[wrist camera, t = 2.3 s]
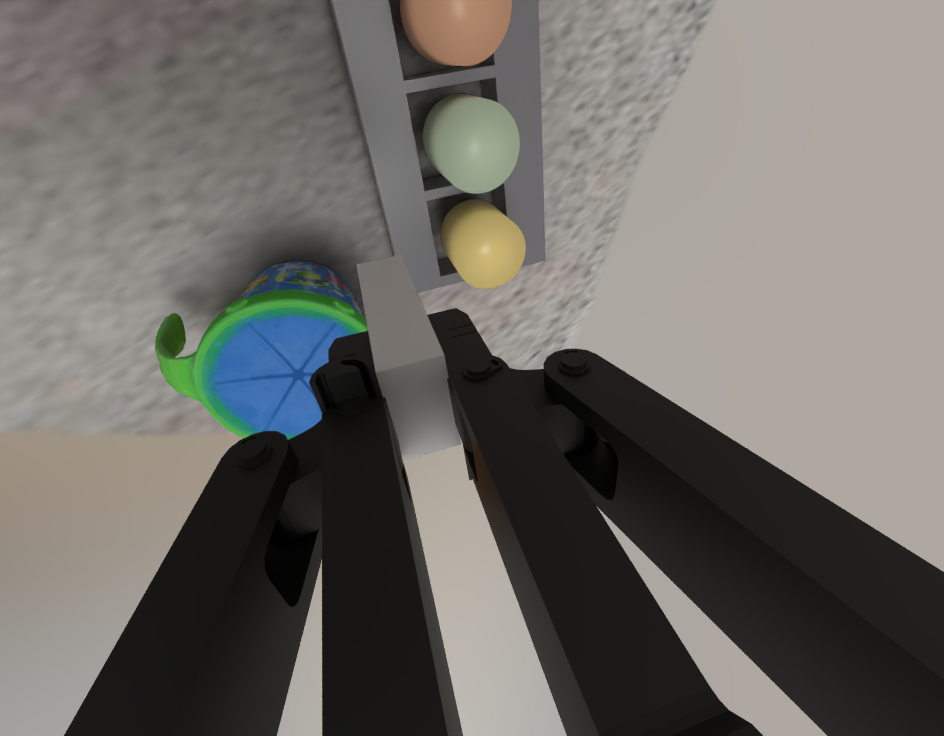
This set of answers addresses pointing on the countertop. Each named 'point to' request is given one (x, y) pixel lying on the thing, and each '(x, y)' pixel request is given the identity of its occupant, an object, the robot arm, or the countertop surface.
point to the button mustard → (482, 243)
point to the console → (392, 139)
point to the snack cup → (264, 350)
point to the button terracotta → (455, 28)
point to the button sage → (471, 142)
